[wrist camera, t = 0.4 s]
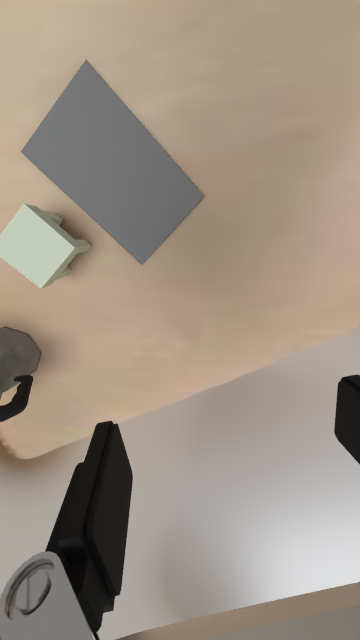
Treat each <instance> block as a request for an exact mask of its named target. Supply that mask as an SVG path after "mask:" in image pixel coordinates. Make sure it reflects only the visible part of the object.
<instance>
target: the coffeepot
mask: <svg viewBox="0 0 360 640" xmlns="http://www.w3.org/2000/svg"><path fill="white" fill-rule="evenodd" d="M40 354H41V353H40V351H39V349H38V347H37V345H36V343H35V342H34V341H33V340H32V339H31V338H30V337H29V335H27V334H25V333H23V332H20V331H18V330H14V329H8V328H5V327H4V328H1V329H0V399H1V396H2V393H3V392H5V391H7V390H9V389H10V388H12V387H13V386H15V385H16V384H18V383H19V382H21V383H20V384H19V385H18V387H17V392H16V394H15V395H14V397H13V398H12V401H11V402H10V403H8V404H6V405H3V406H0V422H3V421H5V420H7V419H9V418H11V417H13V416H15V415H17V414H19V413H21V412H22V411H23V410H24V409H25V408H26V406H27V403H28V399H29V394H30V390H31V386H32V382H33V377H32V376H31V374H32V373H34V372H35V371H36V369H37V366H38V363H39V359H40Z"/></svg>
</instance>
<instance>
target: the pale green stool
mask: <svg viewBox="0 0 360 640" xmlns="http://www.w3.org/2000/svg"><path fill="white" fill-rule="evenodd" d="M63 221H64V220H63V219H62V218H61V217H59V216H58V215H57V214H55V213H51V212H47V211H42V210H40V209H39V208H38V207H36V206H32V205H28V204H23V205H22V206H21V208H20V209H19V210H18V212H17V213H16V214H15V216H14V217H13V218H12V220H11V221H10V222H9V224H8V225H7V226H6V228H5V229H4V230H3V232H2V233H1V235H0V257H1V258H2V259H3V260H5V261H6V262H7V263H8V264H10V265H11V266H12V267H14V268H15V269H16V270H17V271H19V272H20V273H21V274H23V275H24V276H25V277H27V278H28V279H29V280H30V281H32V282H33V283H34V284H36V285H37V286H38V287H39V288H41V289H42V288H44V287H46V286H48V285H51V284H52V283H53V282H54V281H55V280H57V279H59V278H62V277H64V276H67V274H68V273H69V272H70V271H71V269H70V268H69V267H68V266H67V265H68V264H69V263H70V262H71V260H72V259H73V258H74V257H75V256H76V254H77V253H82V252H87V251H88V249H89V248H90V247H91V246H92V245H91V244H90V243H89V242H87V241H86V240H85V239H80V240H75V239H73V238H72V237H71V236H70V235H69V234H68V233H67V232H65V231H64V230H63V229H62V228H61V227H60V224H61V223H62V222H63Z"/></svg>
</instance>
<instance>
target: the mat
mask: <svg viewBox="0 0 360 640" xmlns="http://www.w3.org/2000/svg"><path fill="white" fill-rule="evenodd" d="M21 152H22V153H23V154H24V155H25V156H26V157H27V158H28V159H29V160H30V161H31V162H32V163H33V164H34V165H36V166H37V167H38V168H39V169H40V170H41V171H42V172H43V173H44V174H45V175H46V176H47V177H48V178H49V179H51V180H52V181H53V182H54V183H55V184H56V185H57V186H58V187H59V188H60V189H61V190H62V191H63V192H64V193H66V194H67V195H68V196H69V197H70V198H71V199H72V200H73V201H74V202H75V203H76V204H77V205H78V206H79V207H81V208H82V209H83V210H84V211H85V212H86V213H87V214H88V215H89V216H90V217H91V218H92V219H93V220H95V221H96V222H97V223H98V224H99V225H100V226H101V227H102V228H103V229H104V230H105V231H106V232H107V233H108V234H110V235H111V236H112V237H113V238H114V239H115V240H116V241H117V242H118V243H119V244H120V245H121V246H122V247H123V248H125V249H126V250H127V251H128V252H129V253H130V254H131V255H132V256H133V257H134V258H135V259H136V260H137V261H138V262H140V263H141V264H143V263H144V262H145V261H146V260H147V259H148V258H149V256H150V255H151V254H152V253H153V252H154V251H155V250H156V249H157V248H158V247H159V245H160V244H161V243H162V242H163V241H164V240H165V239H166V238H167V237H168V236H169V234H170V233H171V232H172V231H173V230H174V229H175V228H176V227H177V226H178V225H179V223H180V222H181V221H182V220H183V219H184V218H185V217H186V216H187V215H188V214H189V212H190V211H191V210H192V209H193V208H194V207H195V206H196V205H197V204H198V203H199V201H200V200H201V199H202V198H203V197H204V195H203V194H202V193H201V192H200V191H199V189H198V188H197V187H196V186H195V185H194V184H193V183H192V181H191V180H190V179H189V178H188V177H187V176H186V174H185V173H184V172H183V171H182V170H181V169H180V168H179V166H178V165H177V164H176V163H175V162H174V161H173V159H172V158H171V157H170V156H169V155H168V154H167V153H166V151H165V150H164V149H163V148H162V147H161V146H160V144H159V143H158V142H157V141H156V140H155V139H154V137H153V136H152V135H151V134H150V133H149V132H148V131H147V129H146V128H145V127H144V126H143V125H142V124H141V122H140V121H139V120H138V119H137V118H136V117H135V116H134V114H133V113H132V112H131V111H130V110H129V109H128V107H127V106H126V105H125V104H124V103H123V102H122V101H121V99H120V98H119V97H118V96H117V95H116V94H115V92H114V91H113V90H112V89H111V88H110V87H109V86H108V84H107V83H106V82H105V81H104V80H103V79H102V77H101V76H100V75H99V74H98V73H97V72H96V71H95V69H94V68H93V67H92V66H91V65H90V64H89V62H88V61H87V60H85V62H84V63H83V65H82V66H81V67H80V69H79V70H78V72H77V73H76V74H75V76H74V77H73V79H72V80H71V82H70V83H69V84H68V86H67V87H66V89H65V90H64V91H63V93H62V94H61V96H60V97H59V98H58V100H57V101H56V103H55V104H54V106H53V107H52V108H51V110H50V111H49V113H48V114H47V115H46V117H45V118H44V120H43V121H42V123H41V124H40V125H39V127H38V128H37V130H36V131H35V132H34V134H33V135H32V137H31V138H30V140H29V141H28V142H27V144H26V145H25V147H24V148H23V149H22V151H21Z"/></svg>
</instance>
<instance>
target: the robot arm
mask: <svg viewBox="0 0 360 640" xmlns="http://www.w3.org/2000/svg"><path fill="white" fill-rule="evenodd" d="M335 435H336V437H337V439H338V440H339V442H340V443H341V444H342V445H343V446H344V447H345V448H346V450H347V451H348V452H349V453H350V454H351V455H352V456H353V457H354V458H355V460H356V461H358V463H359V464H360V375H352V376H347V377H343V378H342V379H341V381H340V382H339V383H338V391H337V404H336V417H335ZM132 478H133V476H132V470H131V466H130V463H129V460H128V456H127V453H126V450H125V446H124V443H123V440H122V437H121V433H120V430H119V427H118V424H113V422H112V421H107V422H102V423H98V424H97V425H96V427H95V430H94V433H93V436H92V439H91V442H90V445H89V449H88V451H87V455H86V457H85V460H84V462H82V463H79V464H78V465H77V466H76V468H75V470H74V473H73V476H72V479H71V481H70V484H69V487H68V490H67V493H66V495H65V498H64V501H63V504H62V506H61V509H60V512H59V515H58V517H57V520H56V523H55V526H54V528H53V531H52V534H51V537H50V540H49V542H48V545H47V548H46V551H45V552H41V553H39V554H37V555H34V556H32V557H31V558H30V559H29V560H27V561H26V562H25V563H23V564H22V565H21V567H19V568H18V570H17V571H16V572H15V573H14V574H13V576H12V577H11V579H10V580H9V582H8V583H7V585H6V587H5V589H4V591H3V593H2V595H1V598H0V640H101V639H100V637H99V634H98V632H97V631H98V630H99V628H100V627H101V623H102V616H103V613H104V612H109V611H113V608H114V599H115V596H117V595H119V594H120V591H121V586H122V575H123V566H124V556H125V547H126V538H127V528H128V519H129V509H130V500H131V499H130V498H131V491H132ZM117 640H360V582H358V583H353V584H348V585H344V586H339V587H335V588H330V589H326V590H321V591H316V592H312V593H307V594H302V595H298V596H293V597H289V598H284V599H279V600H275V601H271V602H266V603H262V604H257V605H253V606H248V607H244V608H239V609H235V610H230V611H226V612H221V613H217V614H212V615H208V616H203V617H199V618H195V619H191V620H186V621H182V622H178V623H174V624H170V625H166V626H162V627H158V628H154V629H150V630H146V631H143V632H138V633H135V634H132V635H129V636H126V637H123V638H120V639H117Z"/></svg>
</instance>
